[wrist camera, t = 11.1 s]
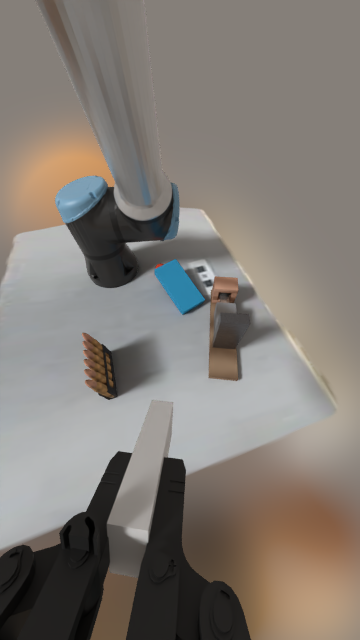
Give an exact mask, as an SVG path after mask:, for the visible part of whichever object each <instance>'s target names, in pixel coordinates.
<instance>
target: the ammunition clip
mask: <svg viewBox="0 0 360 640" xmlns="http://www.w3.org/2000/svg"><path fill="white" fill-rule="evenodd" d="M82 336H83V338H84V339H85V340H86V341H87V342H86V341H83V345H84V347H85V348H86V349H87V350H83V353H84V355H85V356H86V357H87V358H88V359H84V363H85V365H86V366H87V367H89V368H90V369H91V370H90V369H85V370H84V372H85V374H86V375H87V376H88V377H90V378H91V379H92V380H85V383H86V385H87V386H88V387H90V388H91V389H93V390H94V391H95V392H98V394H99V395H100V396H102V397H104V398H106V399H108V400H110V399H113V398H116V397H117V391H116V384H115V377H114V370H113V363H112V356H111V352H110V351H109V350H108V349H107V348H106V347H105V346H104V345H103V344H100V343H99V342H98V341H97V340H95V339H94V338H92V337H91V336H90V335H88V334H86V333H82Z"/></svg>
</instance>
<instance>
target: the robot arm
mask: <svg viewBox="0 0 360 640" xmlns="http://www.w3.org/2000/svg"><path fill="white" fill-rule="evenodd" d="M35 1H36V4H37V6H38V8H39V10H40V13H41V15H42V17H43V19H44V22H45V24H46V26H47V29H48V31H49V33H50V35H51V38H52V40H53V42H54V44H55V47H56V49H57V51H58V53H59V56H60V58H61V60H62V62H63V65H64V67H65V69H66V72H67V74H68V76H69V78H70V81H71V83H72V85H73V87H74V90H75V92H76V94H77V96H78V99H79V101H80V103H81V106H82V108H83V110H84V112H85V115H86V117H87V119H88V121H89V124H90V126H91V128H92V130H93V133H94V135H95V137H96V139H97V142H98V144H99V146H100V148H101V151H102V153H103V155H104V157H105V160H106V162H107V164H108V167H109V169H110V171H111V173H112V176H113V178H114V180H115V186H114V187H108V185H107V183H106V182H105V180H104V179H103V178H102V177H98V176H87V177H83V178H80V179H77V180H75V181H72V182H71V183H69V184H67V185H66V186H64V187H63V188H62V189H61V190H60V191H59V192H58V193H57V195H56V198H55V203H56V206H57V209H58V211H59V213H60V215H61V217H62V219H63V222H64V223H65V224H66V225H67V227H68V229H69V230H70V232H71V234H72V235H73V237H74V239H75V240H76V242H77V244H78V246H79V247H80V249H81V251H82V252H83V254H84V256H85V261H86V267H87V272H88V275H89V276H90V278H91V280H92V281H93V282H94V283H95V284H96V285H98V286H101V287H106V288H112V287H118V286H121V285H124V284H126V283H127V282H129V281H130V280H132V279H133V278H134V277H135V275H136V274H137V271H138V262H137V259H136V257H135V255H134V254H133V252H132V251H131V250H130V248H129V247H128V246H127V244H126V243H127V242H142V241H157V240H160V241H164V240H168V239H173V238H175V236H176V235H177V232H178V226H179V192H178V187H177V185H176V184H174V183H171V182H170V180H169V178H168V176H167V175H166V174H165V172H164V171H163V170H162V164H161V153H160V144H159V135H158V125H157V116H156V107H155V97H154V88H153V79H152V69H151V60H150V51H149V42H148V32H147V23H146V13H145V4H144V0H35ZM172 416H173V402H165V401H156V400H152V402H151V404H150V407H149V410H148V412H147V415H146V418H145V421H144V423H143V426H142V429H141V432H140V434H139V437H138V440H137V442H136V445H135V448H134V451H133V453H127V452H120V451H118V452H117V453H116V455H115V456H114V457H113V458H112V459H111V460H110V462H109V464H108V466H107V468H106V471H105V473H104V475H103V477H102V479H101V482H100V483H99V485H98V487H97V490H96V492H95V494H94V496H93V498H92V500H91V502H90V504H89V506H88V509H87V511H86V512H81V513H79V514H77V515H75V516H73V517H72V518H71V519H70V520H69V521H68V522H67V523H66V524H65V525H64V527H63V529H62V530H61V531H60V533H59V534H60V540H61V544H58V545H56V546H53V547H50V548H46V549H43V550H39V551H36V552H33V551H32V550H31V548H30V547H29V546H26V545H21V546H17V547H14V548H12V549H11V550H9V551H8V552H6V553H5V554H3V556H1V557H0V640H90V638H91V635H92V631H93V628H94V625H95V621H96V618H97V614H98V611H99V608H100V604H101V601H102V595H103V590H104V588H103V584H104V580H105V577H106V574H107V571H108V567H109V570H110V573H115V574H121V575H126V576H131V577H136V578H138V582H137V587H136V592H135V597H134V602H133V607H132V612H131V617H130V622H129V627H128V632H127V637H126V640H251V639H250V635H249V631H248V627H247V624H246V620H245V616H244V612H243V610H242V607H241V604H240V602H239V599H238V597H237V596H236V594H235V593H234V591H233V590H232V589H231V587H229V586H228V585H227V584H225V583H224V582H221V581H213V582H212V583H210V582H208V581H207V580H206V579H204V578H203V577H202V576H200V575H199V574H198V573H196V572H195V571H194V570H193V569H192V568H191V567H190V565H189V563H188V562H187V560H186V558H185V556H184V553H183V548H182V522H183V507H184V506H183V504H184V490H185V475H186V469H185V466H184V463H183V460H182V459H175V458H168V453H169V447H170V441H171V435H172Z"/></svg>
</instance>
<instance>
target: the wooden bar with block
mask: <svg viewBox="0 0 360 640" xmlns="http://www.w3.org/2000/svg"><path fill="white" fill-rule="evenodd" d="M219 292H222V293H229V302H230V303H222V302H220V300H219ZM237 293H238V278H230V277H215V278H214V284H213V289H212V290H211V307H210V346H209V378H214V379H224V380H233V381H237V380H238V368H237V350H236V348H235V349H224V348H213V347H212V340H213V336H214V333H215V329H216V326H217V322H218V319H219V316H220V312H222V313H236V314H237V312H236V303H234V301H235V298H236V295H237Z"/></svg>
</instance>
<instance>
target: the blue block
mask: <svg viewBox="0 0 360 640" xmlns="http://www.w3.org/2000/svg"><path fill="white" fill-rule="evenodd" d="M155 275H156V277H157V278H158V280H159V281H160V283H161V284H162V286H163V287H164V289H165V290H166V292H167V293H168V295H169V296H170V298H171V299H172V301H173V302H174V303H175V305H176V306H177V308H178V309H179V311H180V312H181V313H182V315H183V314H185V313H187V312H188V311H190V310H192V309H193V308H195V307H197V306H198V305H200V304H202V303H203V302H204V300H205V299H204V297H203V296H202V295H201V293H200V292H199V290H198V289H197V288H196V286H195V285H194V284H193V282H192V281H191V279H190V278H189V277H188V275H187V274H186V272H185V271H184V270H183V268H182V267H181V266H180V264H179V263H178V261H177V260H176V259H175V260H173V261H170V262H168V263H166V264H158V265H157V266H156V268H155Z"/></svg>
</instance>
